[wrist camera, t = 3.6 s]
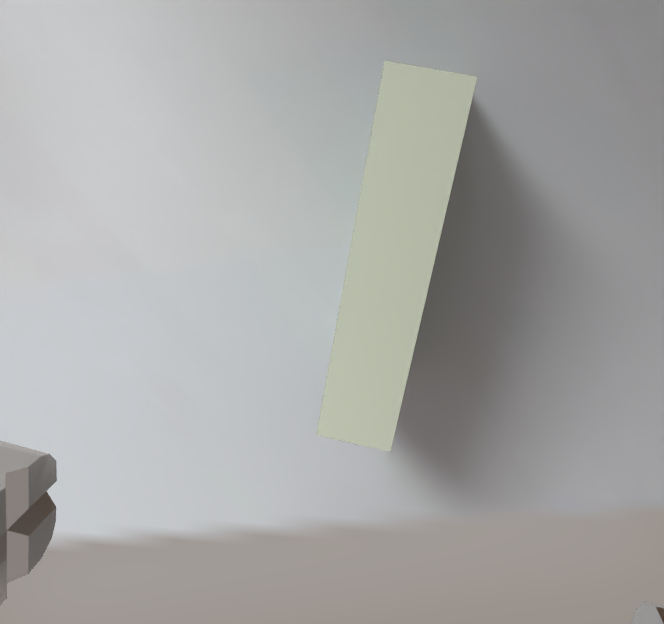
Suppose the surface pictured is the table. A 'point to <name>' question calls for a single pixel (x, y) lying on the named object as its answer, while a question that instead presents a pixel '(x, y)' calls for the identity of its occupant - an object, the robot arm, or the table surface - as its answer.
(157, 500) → the table surface
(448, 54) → the table surface
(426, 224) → the door panel
